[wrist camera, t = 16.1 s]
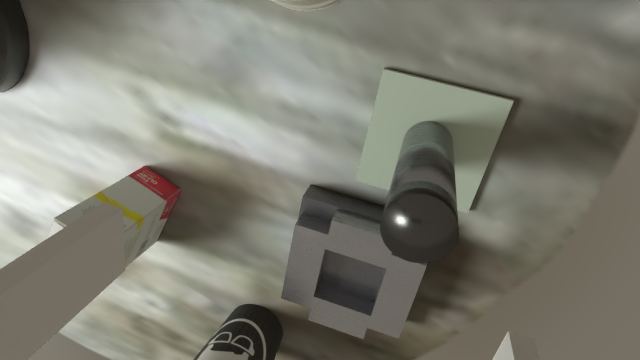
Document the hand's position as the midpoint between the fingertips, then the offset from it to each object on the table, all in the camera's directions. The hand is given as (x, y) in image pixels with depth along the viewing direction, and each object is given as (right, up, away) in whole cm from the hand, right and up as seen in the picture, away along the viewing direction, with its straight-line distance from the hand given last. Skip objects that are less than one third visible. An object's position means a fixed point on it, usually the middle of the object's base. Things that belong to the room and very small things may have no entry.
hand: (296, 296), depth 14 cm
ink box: (-18, +1, +32) cm, 36 cm away
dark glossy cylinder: (+10, +7, +20) cm, 23 cm away
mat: (+10, +7, +21) cm, 24 cm away
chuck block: (+5, -4, +27) cm, 28 cm away
